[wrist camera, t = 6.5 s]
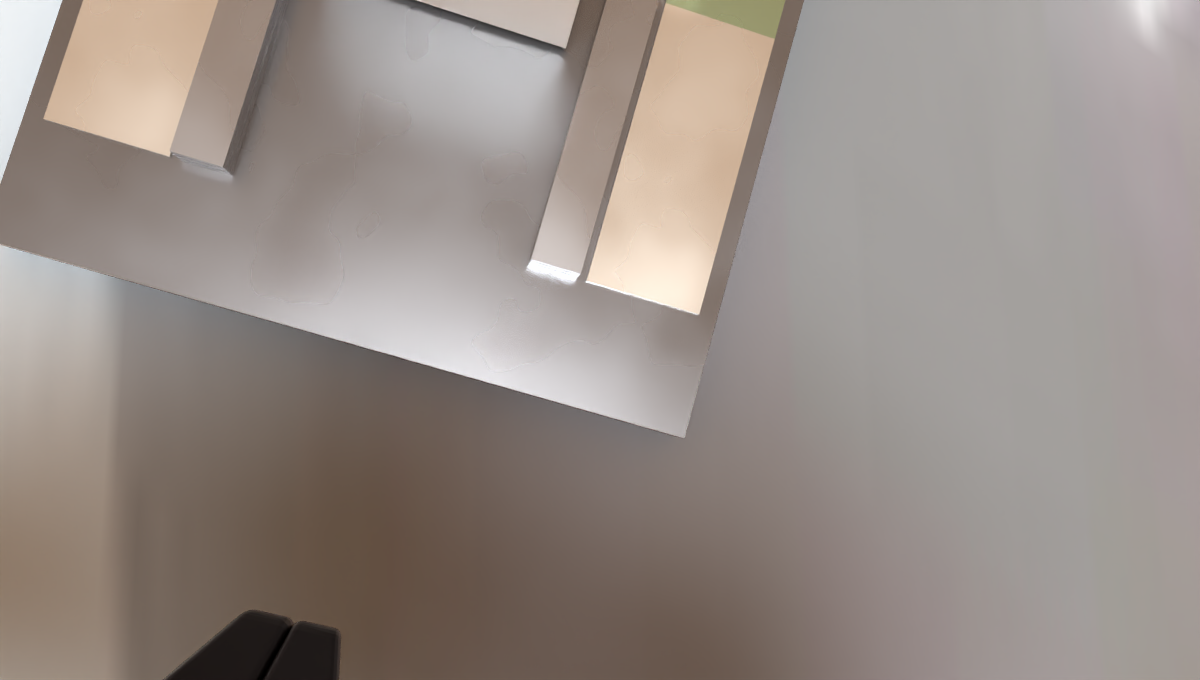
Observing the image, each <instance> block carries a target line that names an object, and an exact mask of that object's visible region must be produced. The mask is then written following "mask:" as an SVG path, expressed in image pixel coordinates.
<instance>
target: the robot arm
mask: <svg viewBox="0 0 1200 680" xmlns="http://www.w3.org/2000/svg"><path fill="white" fill-rule="evenodd" d="M340 649H341V634H340V632H339V630H338V629H336V628H332V627H328V626H324V625H319V624H315V623H311V622H306V621H300V622H297V623H295V624H294V623H293V621H292V620H291V619H290V618H288V617H285V616H280V615H276V614H271V613H267V612H263V611H258V610H249V611H246V612H244V613H242V614H241V615H240V616H238V617H237V618H236V619H235V620H233V621H232V622H231V623H230V624H229V625H227V626H226V627H225V628H224V629H223V630H221V631H220V632H219V633H218V634H217V635H215V636H214V637H213V638H212V639H211V640H210V641H208V642H207V643H206V644H205V645H204V646H202V647H201V648H200V649H199V650H198V651H196V652H195V653H194V654H193V655H192V656H191V657H189V658H188V659H187V660H186V661H185V662H183V663H182V664H181V665H180V666H179V667H177V668H176V669H175V670H174V671H173V672H171V673H170V674H169V675H168V676H167V677H166V678H164V679H163V680H339V669H340Z"/></svg>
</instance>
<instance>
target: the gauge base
mask: <svg viewBox="0 0 1200 680" xmlns="http://www.w3.org/2000/svg"><path fill="white" fill-rule="evenodd" d="M803 2H804V0H580V2H579V5H578V9H577V12H576V15H575V19H574V22H573V26H572V29H571V33H570V36H569V39H568V43H567V46H566V48H563V47H559V46H556V45H553V44H550V43H547V42H544V41H541V40H538V39H535V38H531V37H528V36H525V35H522V34H519V33H516V32H513V31H510V30H507V29H504V28H500V27H497V26H494V25H491V24H488V23H485V22H482V21H479V20H476V19H473V18H469V17H466V16H463V15H460V14H457V13H454V12H451V11H448V10H445V9H441V8H438V7H435V6H432V5H429V4H426V3H423V2H420V1H417V0H63V1H62V4H61V7H60V10H59V13H58V16H57V18H56V21H55V24H54V27H53V30H52V33H51V36H50V39H49V42H48V45H47V48H46V51H45V54H44V57H43V60H42V63H41V66H40V69H39V72H38V75H37V78H36V81H35V83H34V86H33V89H32V92H31V95H30V98H29V101H28V104H27V107H26V110H25V113H24V116H23V119H22V122H21V125H20V128H19V131H18V134H17V137H16V140H15V143H14V146H13V148H12V151H11V154H10V157H9V160H8V163H7V166H6V169H5V172H4V175H3V178H2V181H1V184H0V245H3V246H7V247H10V248H14V249H17V250H21V251H24V252H28V253H31V254H35V255H38V256H42V257H45V258H49V259H52V260H56V261H59V262H63V263H66V264H70V265H73V266H77V267H80V268H84V269H88V270H91V271H95V272H98V273H102V274H105V275H109V276H112V277H116V278H119V279H123V280H126V281H130V282H133V283H137V284H140V285H144V286H147V287H151V288H154V289H158V290H161V291H165V292H168V293H172V294H175V295H179V296H183V297H186V298H190V299H193V300H197V301H200V302H204V303H207V304H211V305H214V306H218V307H221V308H225V309H228V310H232V311H235V312H239V313H242V314H246V315H249V316H253V317H256V318H260V319H263V320H267V321H271V322H274V323H278V324H281V325H285V326H288V327H292V328H295V329H299V330H302V331H306V332H309V333H313V334H316V335H320V336H323V337H327V338H330V339H334V340H337V341H341V342H344V343H348V344H351V345H355V346H358V347H362V348H366V349H369V350H373V351H376V352H380V353H383V354H387V355H390V356H394V357H397V358H401V359H404V360H408V361H411V362H415V363H418V364H422V365H425V366H429V367H432V368H436V369H439V370H443V371H446V372H450V373H454V374H457V375H461V376H464V377H468V378H471V379H475V380H478V381H482V382H485V383H489V384H492V385H496V386H499V387H503V388H506V389H510V390H513V391H517V392H520V393H524V394H527V395H531V396H534V397H538V398H541V399H545V400H549V401H552V402H556V403H559V404H563V405H566V406H570V407H573V408H577V409H580V410H584V411H587V412H591V413H594V414H598V415H601V416H605V417H608V418H612V419H615V420H619V421H622V422H626V423H629V424H633V425H636V426H640V427H644V428H647V429H651V430H654V431H658V432H661V433H665V434H668V435H672V436H675V437H680V438H685V434H686V431H687V427H688V423H689V420H690V416H691V412H692V409H693V405H694V401H695V398H696V394H697V390H698V387H699V383H700V379H701V376H702V372H703V368H704V365H705V361H706V357H707V354H708V350H709V346H710V343H711V339H712V335H713V332H714V328H715V324H716V321H717V317H718V313H719V310H720V306H721V302H722V299H723V295H724V291H725V288H726V284H727V280H728V277H729V273H730V269H731V266H732V262H733V258H734V255H735V251H736V247H737V244H738V240H739V236H740V233H741V229H742V225H743V222H744V218H745V214H746V211H747V207H748V203H749V200H750V196H751V192H752V189H753V185H754V181H755V178H756V174H757V170H758V167H759V163H760V159H761V156H762V152H763V148H764V145H765V141H766V137H767V134H768V130H769V126H770V123H771V119H772V115H773V112H774V108H775V104H776V101H777V97H778V93H779V90H780V86H781V82H782V79H783V75H784V71H785V68H786V64H787V60H788V57H789V53H790V49H791V46H792V42H793V38H794V35H795V31H796V27H797V24H798V20H799V16H800V13H801V9H802V5H803Z"/></svg>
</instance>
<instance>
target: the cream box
mask: <svg viewBox="0 0 1200 680" xmlns="http://www.w3.org/2000/svg"><path fill="white" fill-rule="evenodd" d="M417 1H420V2H423V3H426V4H429V5H432V6H435V7H438V8H441V9H445V10H448V11H451V12H454V13H457V14H460V15H463V16H466V17H469V18H473V19H476V20H479V21H482V22H485V23H488V24H491V25H494V26H497V27H500V28H504V29H507V30H510V31H513V32H516V33H519V34H522V35H525V36H528V37H531V38H535V39H538V40H541V41H544V42H547V43H550V44H553V45H556V46H559V47H563V48H566V46H567V43H568V39H569V36H570V33H571V29H572V26H573V22H574V19H575V15H576V12H577V9H578V5H579V2H580V0H417Z"/></svg>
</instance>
